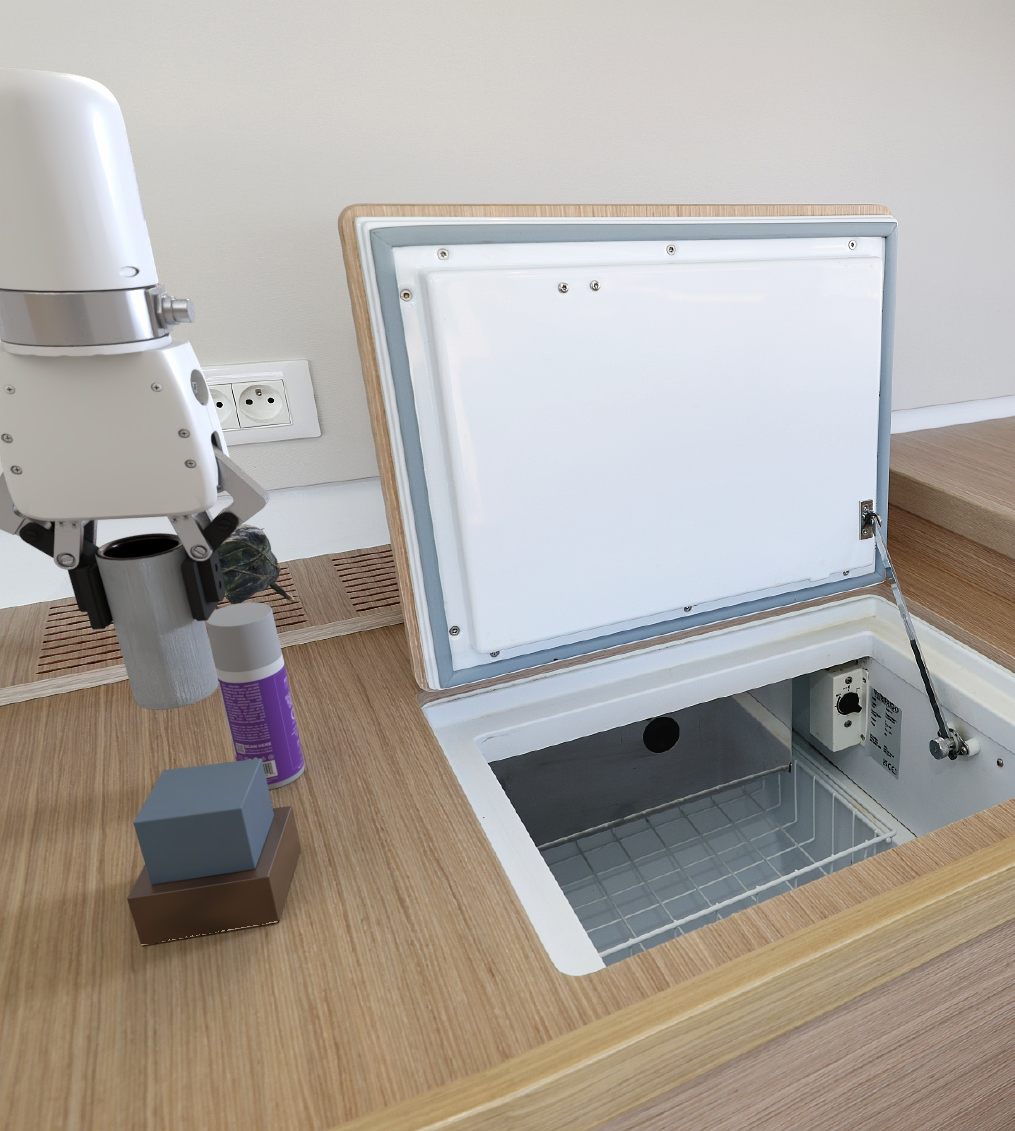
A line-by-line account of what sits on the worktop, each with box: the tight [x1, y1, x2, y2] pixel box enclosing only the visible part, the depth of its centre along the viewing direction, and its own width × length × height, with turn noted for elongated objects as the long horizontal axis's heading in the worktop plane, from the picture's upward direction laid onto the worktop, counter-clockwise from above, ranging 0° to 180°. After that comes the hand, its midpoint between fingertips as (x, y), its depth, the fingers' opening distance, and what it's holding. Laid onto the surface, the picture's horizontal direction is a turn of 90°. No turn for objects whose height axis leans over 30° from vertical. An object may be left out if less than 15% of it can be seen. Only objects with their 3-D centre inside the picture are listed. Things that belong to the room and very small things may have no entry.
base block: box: [126, 805, 302, 945], centre depth 66 cm, size 8×8×4 cm
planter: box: [95, 532, 219, 711], centre depth 59 cm, size 4×4×10 cm
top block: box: [133, 758, 274, 885], centre depth 64 cm, size 6×6×5 cm
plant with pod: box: [205, 523, 295, 642], centre depth 99 cm, size 8×11×20 cm
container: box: [206, 602, 306, 791], centre depth 77 cm, size 5×5×15 cm
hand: (157, 613), depth 59 cm, fingers closed on planter, 4 cm apart
